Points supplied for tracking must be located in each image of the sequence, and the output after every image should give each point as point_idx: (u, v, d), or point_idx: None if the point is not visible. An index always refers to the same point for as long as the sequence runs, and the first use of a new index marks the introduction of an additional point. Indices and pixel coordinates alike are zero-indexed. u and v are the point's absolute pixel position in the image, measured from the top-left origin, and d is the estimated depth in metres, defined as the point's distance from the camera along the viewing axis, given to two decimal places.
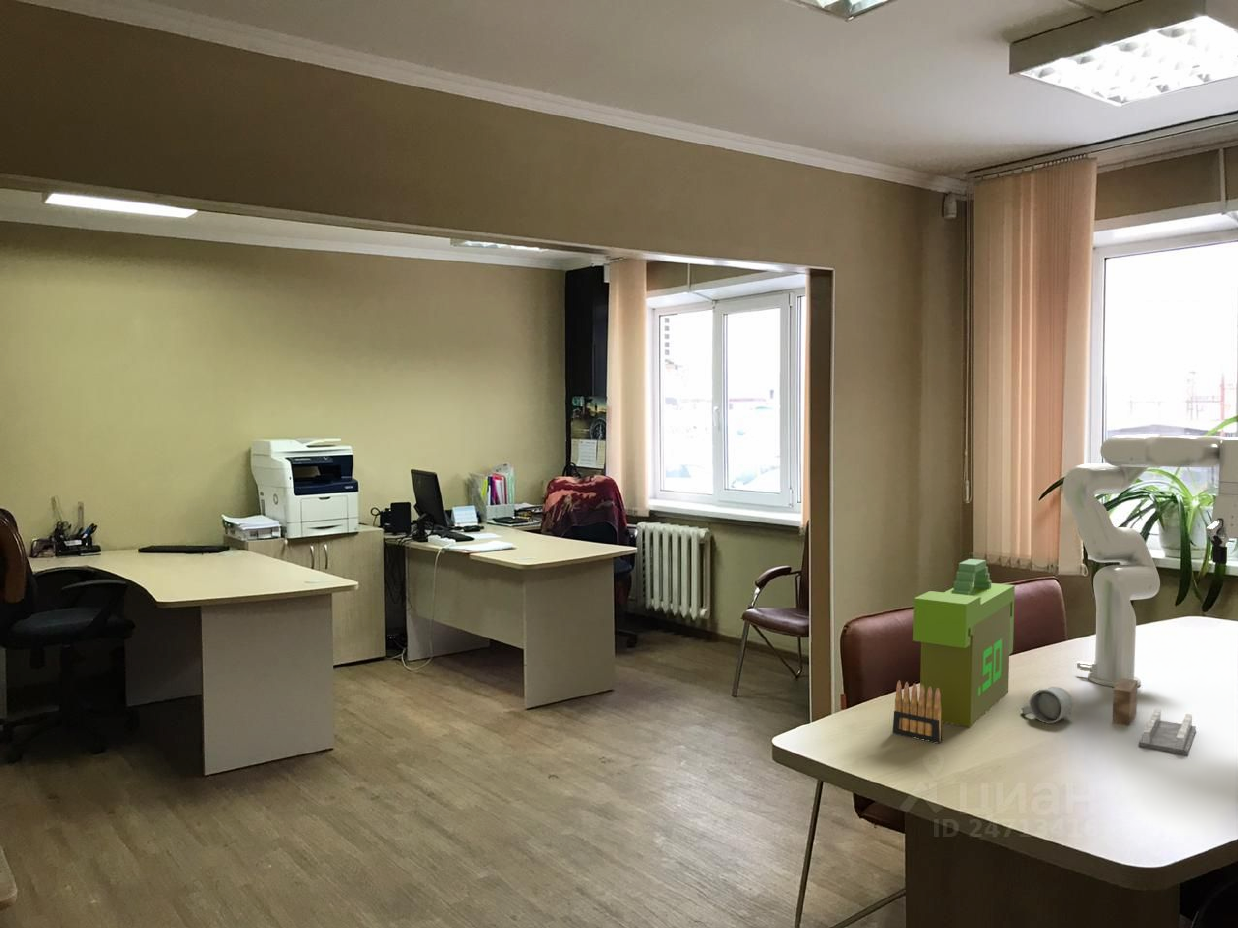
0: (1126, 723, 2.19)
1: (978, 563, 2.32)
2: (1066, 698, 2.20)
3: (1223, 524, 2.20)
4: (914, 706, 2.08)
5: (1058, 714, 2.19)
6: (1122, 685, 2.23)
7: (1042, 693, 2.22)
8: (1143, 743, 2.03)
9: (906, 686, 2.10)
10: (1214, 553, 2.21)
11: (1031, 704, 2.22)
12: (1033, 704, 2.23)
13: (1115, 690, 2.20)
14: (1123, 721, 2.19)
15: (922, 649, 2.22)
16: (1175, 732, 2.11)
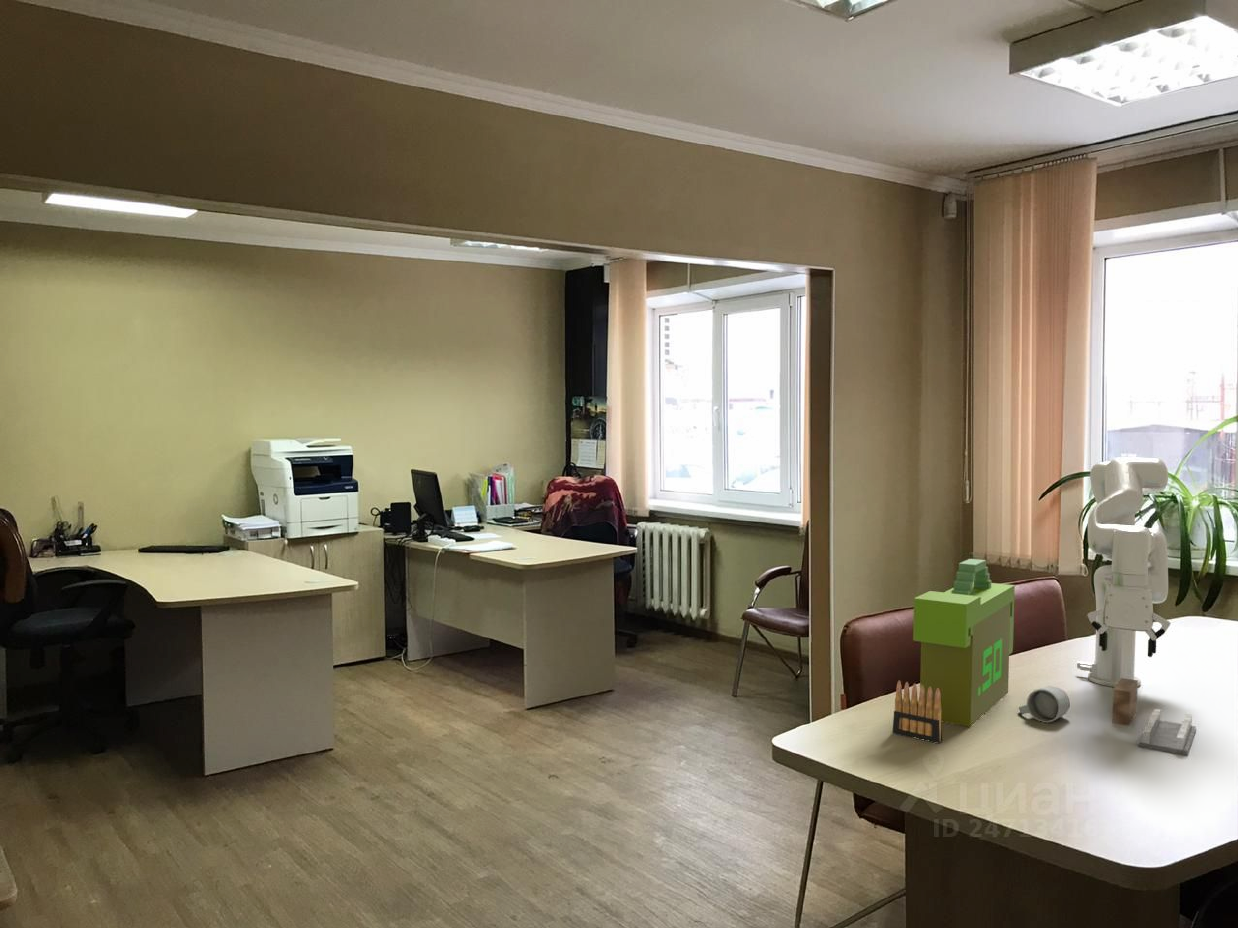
0: (1126, 723, 2.19)
1: (978, 563, 2.32)
2: (1063, 697, 2.21)
3: None
4: (914, 706, 2.08)
5: (1055, 713, 2.20)
6: (1122, 685, 2.23)
7: (1039, 692, 2.22)
8: (1143, 743, 2.03)
9: (906, 686, 2.10)
10: (1155, 647, 2.19)
11: (1028, 703, 2.23)
12: (1030, 704, 2.24)
13: (1115, 690, 2.20)
14: (1123, 721, 2.19)
15: (922, 649, 2.22)
16: (1175, 732, 2.11)
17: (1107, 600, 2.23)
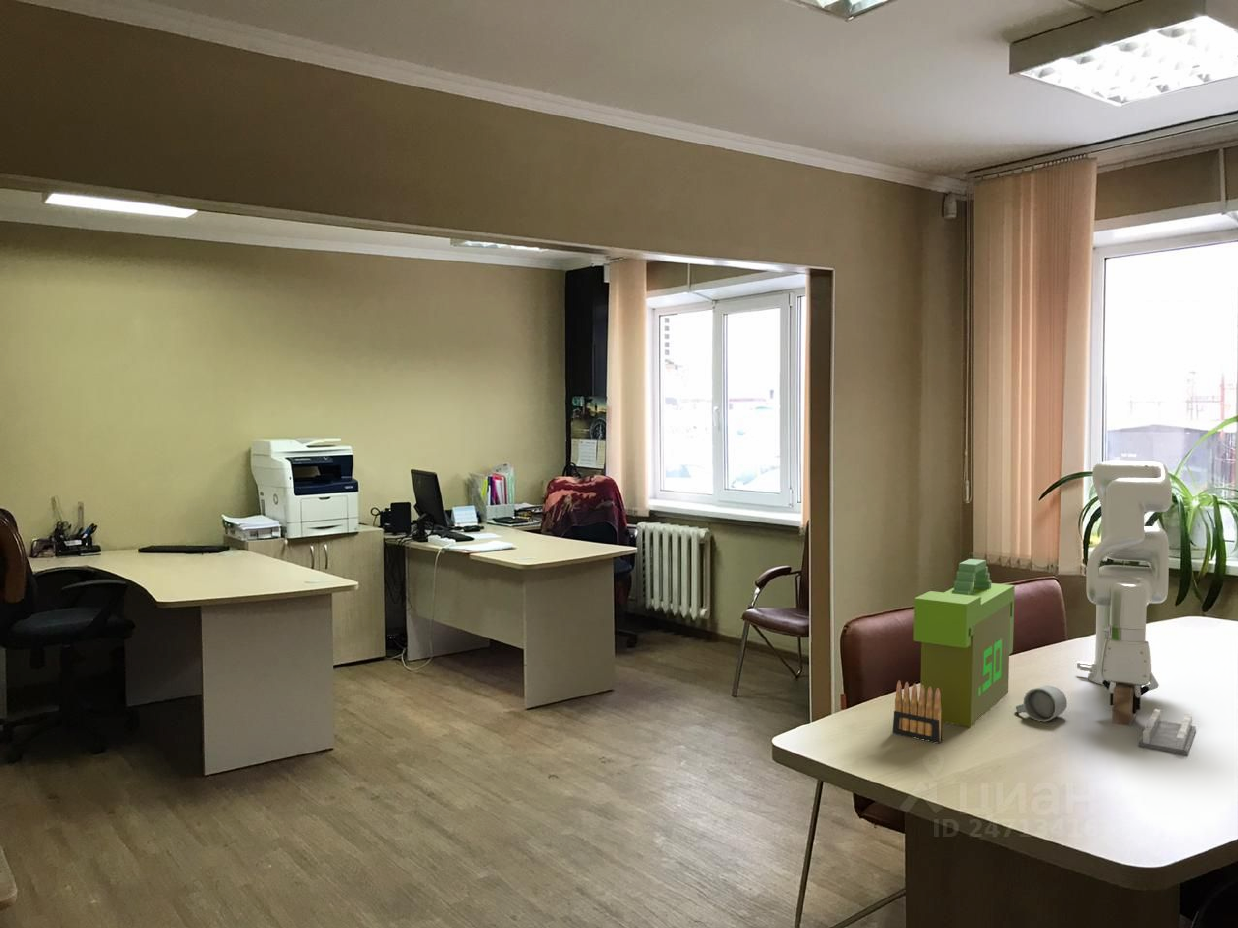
0: (1126, 723, 2.19)
1: (978, 563, 2.32)
2: (1060, 696, 2.21)
3: None
4: (914, 706, 2.08)
5: (1052, 713, 2.20)
6: (1122, 685, 2.23)
7: (1036, 692, 2.23)
8: (1143, 743, 2.03)
9: (906, 686, 2.10)
10: (1139, 704, 2.22)
11: (1025, 703, 2.24)
12: (1027, 703, 2.24)
13: (1115, 690, 2.20)
14: (1123, 721, 2.19)
15: (922, 649, 2.22)
16: (1175, 732, 2.11)
17: (1105, 653, 2.24)
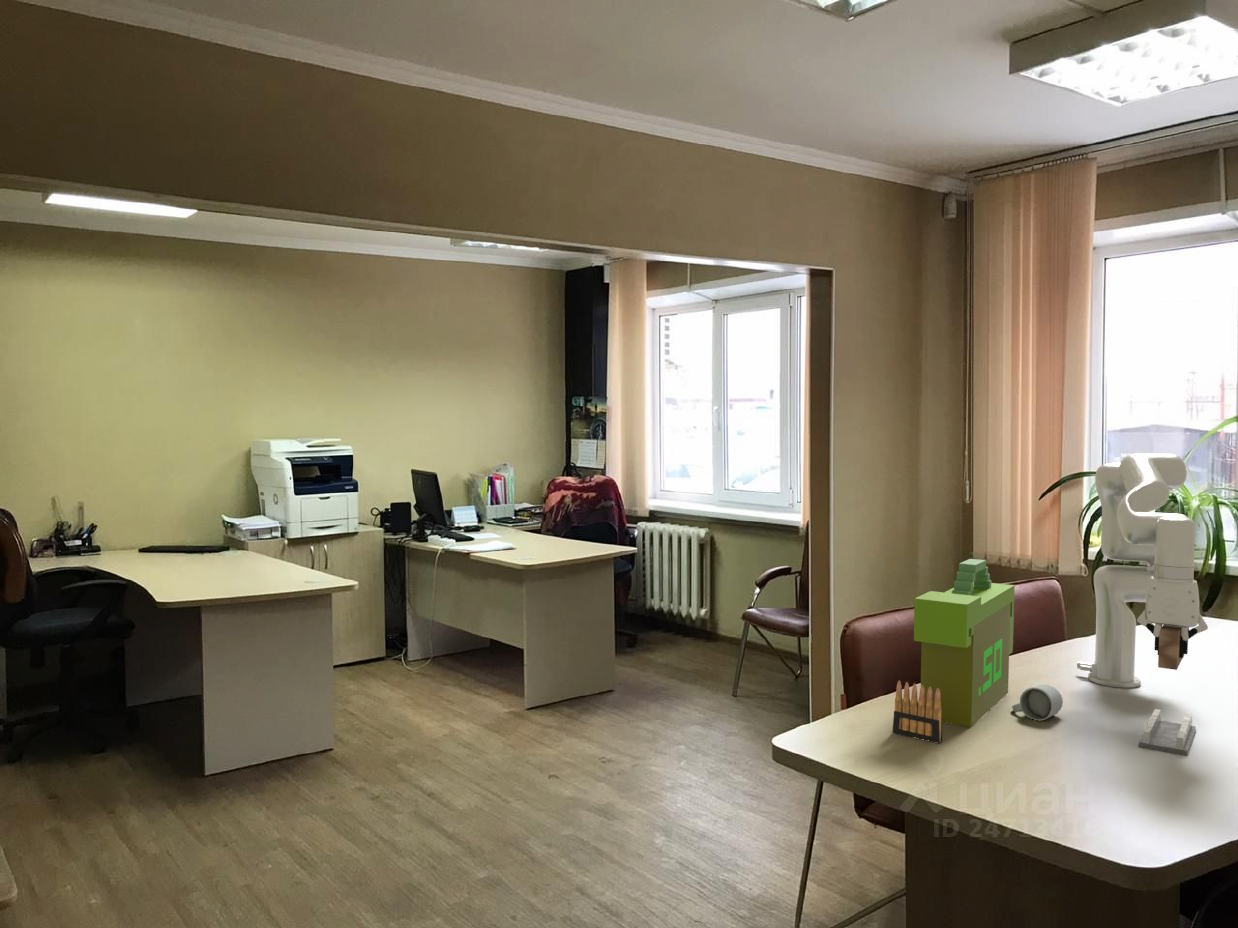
0: (1173, 667, 2.03)
1: (978, 563, 2.32)
2: (1056, 695, 2.22)
3: (1199, 611, 2.06)
4: (914, 706, 2.08)
5: (1048, 712, 2.21)
6: (1168, 627, 2.08)
7: (1032, 691, 2.23)
8: (1143, 743, 2.03)
9: (906, 686, 2.10)
10: (1187, 648, 2.06)
11: (1021, 702, 2.24)
12: (1023, 702, 2.25)
13: (1161, 632, 2.04)
14: (1170, 665, 2.03)
15: (923, 649, 2.22)
16: (1175, 732, 2.11)
17: (1150, 594, 2.08)
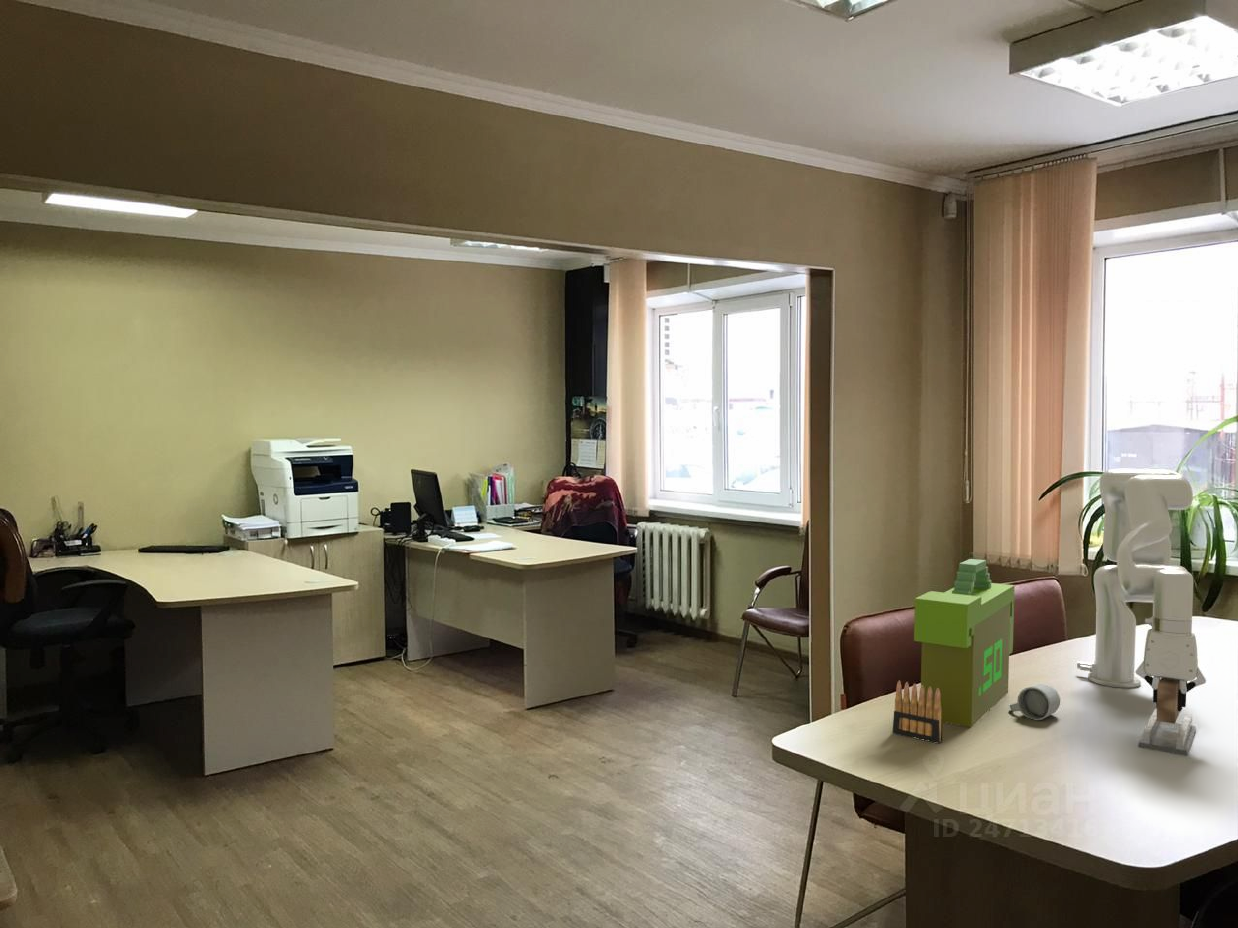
0: (1171, 721, 2.03)
1: (978, 563, 2.32)
2: (1053, 695, 2.22)
3: (1197, 664, 2.06)
4: (914, 706, 2.08)
5: (1045, 711, 2.22)
6: (1166, 680, 2.08)
7: (1030, 690, 2.24)
8: (1143, 743, 2.03)
9: (906, 686, 2.10)
10: (1185, 701, 2.07)
11: (1019, 701, 2.25)
12: (1021, 702, 2.25)
13: (1159, 685, 2.05)
14: (1169, 718, 2.04)
15: (923, 649, 2.22)
16: (1175, 732, 2.11)
17: (1148, 646, 2.09)
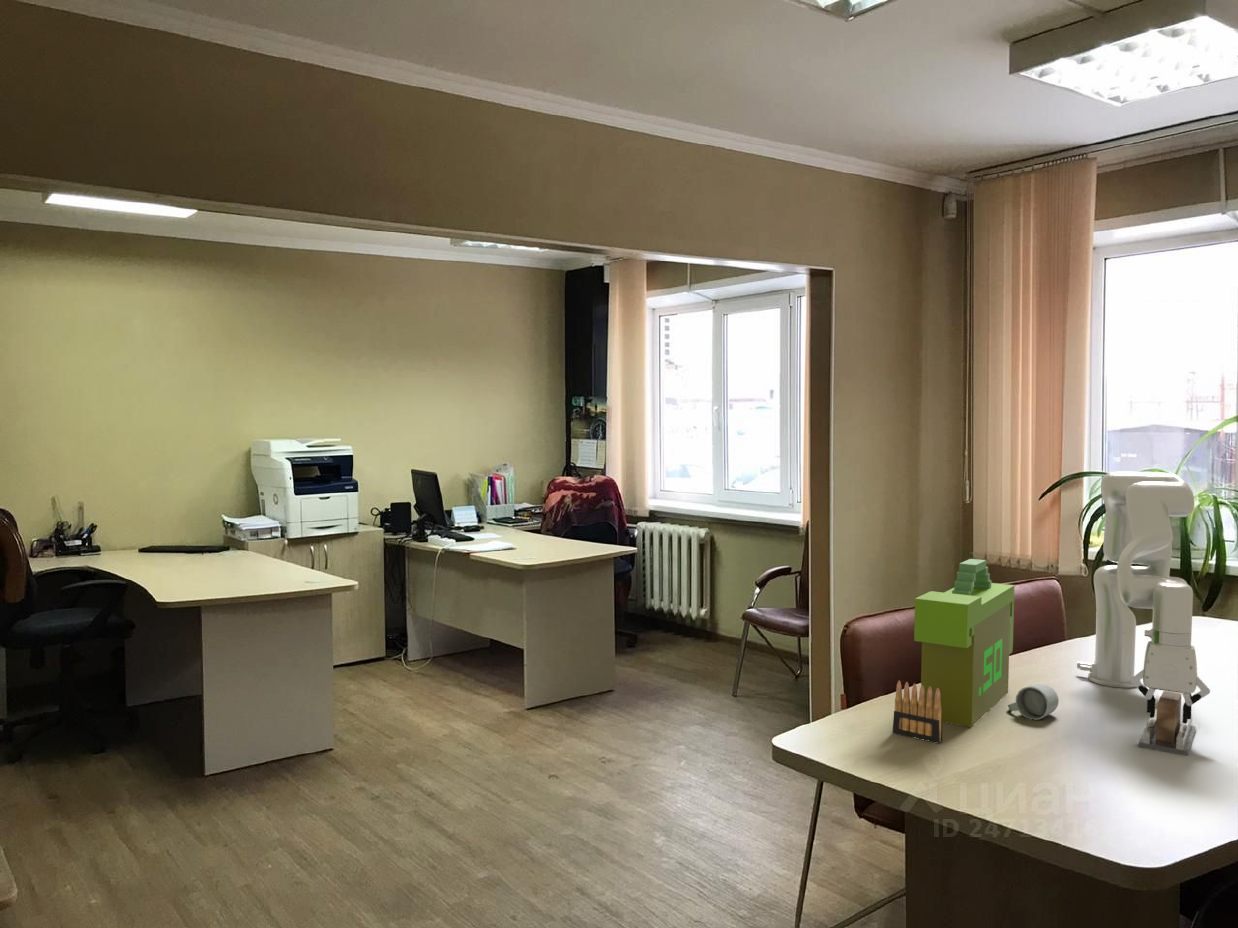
0: (1171, 740, 2.04)
1: (978, 563, 2.32)
2: (1052, 695, 2.23)
3: (1197, 676, 2.06)
4: (914, 706, 2.08)
5: (1044, 711, 2.22)
6: (1166, 699, 2.08)
7: (1028, 690, 2.24)
8: (1143, 743, 2.03)
9: (906, 686, 2.10)
10: (1190, 713, 2.06)
11: (1017, 701, 2.25)
12: (1019, 701, 2.26)
13: (1159, 704, 2.05)
14: (1168, 737, 2.04)
15: (923, 649, 2.22)
16: None
17: (1147, 659, 2.09)
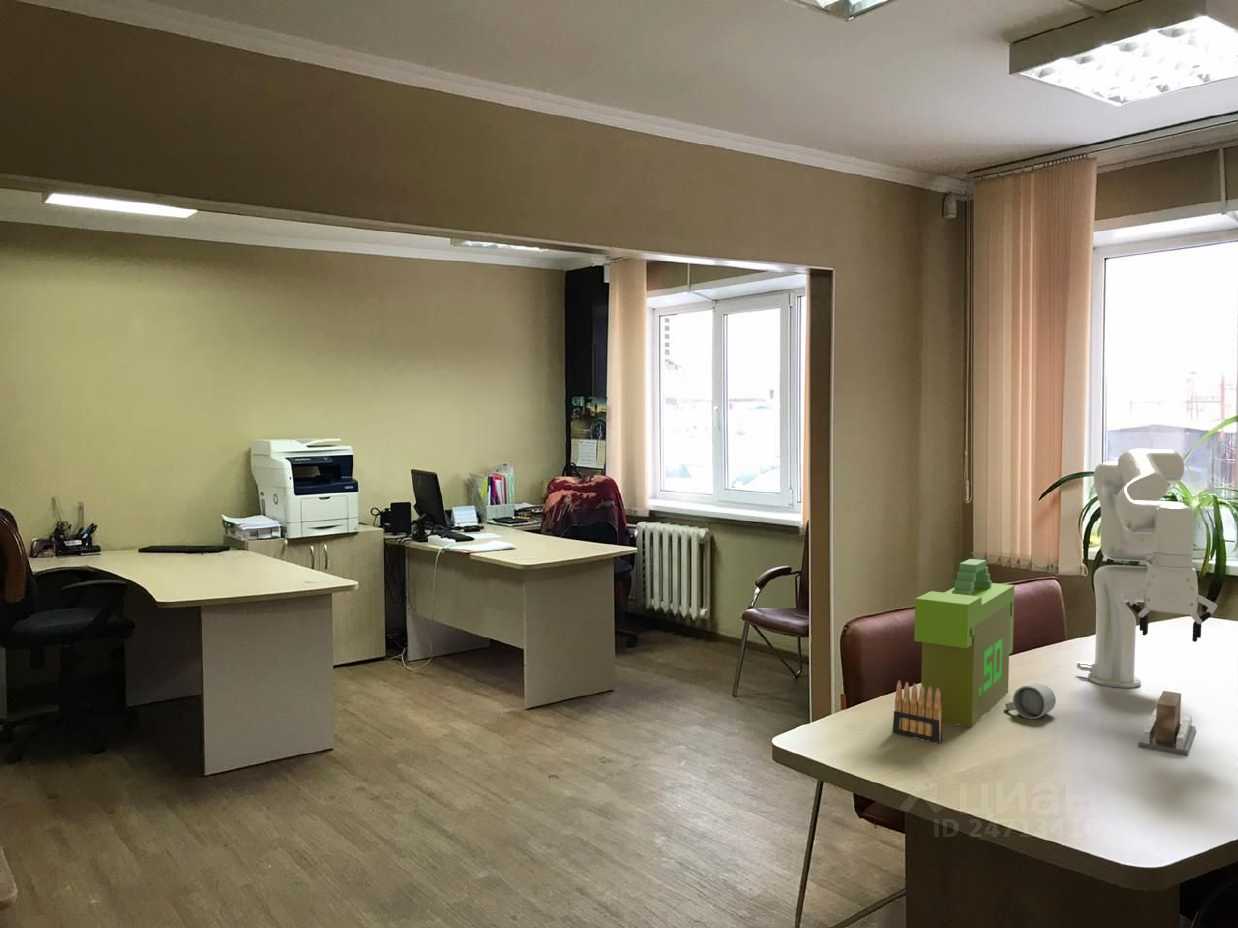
0: (1170, 740, 2.04)
1: (979, 563, 2.32)
2: (1049, 694, 2.23)
3: None
4: (914, 706, 2.08)
5: (1041, 710, 2.22)
6: (1165, 699, 2.08)
7: (1025, 689, 2.25)
8: (1143, 743, 2.03)
9: (906, 686, 2.10)
10: (1200, 631, 2.06)
11: (1014, 700, 2.25)
12: (1016, 700, 2.26)
13: (1158, 704, 2.05)
14: (1168, 737, 2.04)
15: (923, 649, 2.22)
16: None
17: (1149, 582, 2.10)
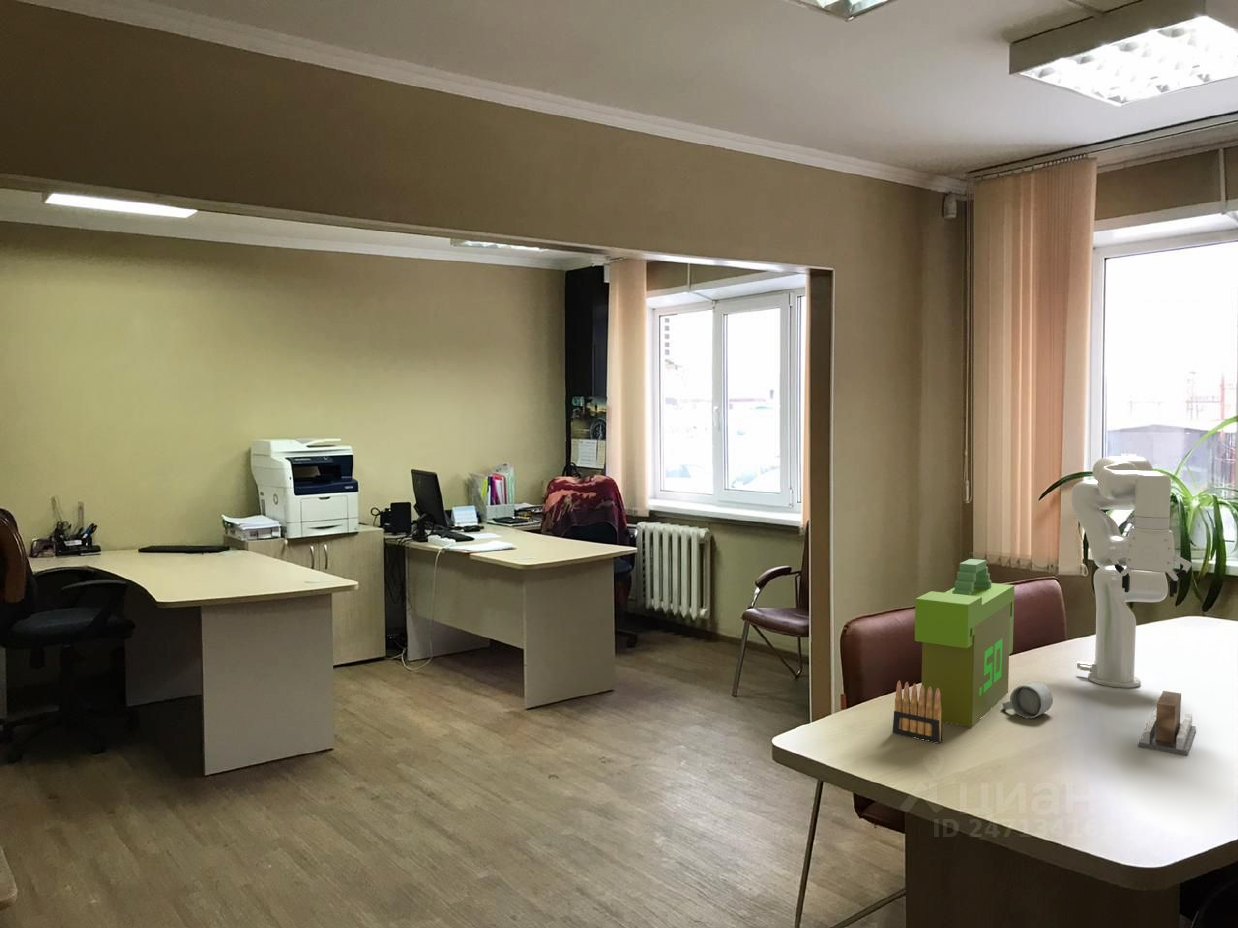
0: (1170, 740, 2.04)
1: (979, 563, 2.32)
2: (1046, 693, 2.24)
3: None
4: (914, 706, 2.08)
5: (1038, 709, 2.23)
6: (1165, 699, 2.08)
7: (1022, 689, 2.25)
8: (1143, 743, 2.03)
9: (906, 686, 2.10)
10: (1176, 587, 2.26)
11: (1012, 700, 2.26)
12: (1013, 700, 2.27)
13: (1158, 704, 2.05)
14: (1168, 737, 2.04)
15: (923, 649, 2.22)
16: None
17: (1130, 543, 2.30)
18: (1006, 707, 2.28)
